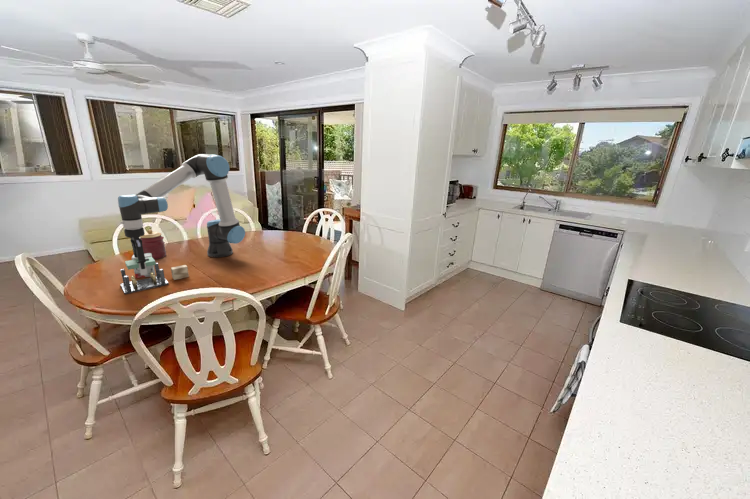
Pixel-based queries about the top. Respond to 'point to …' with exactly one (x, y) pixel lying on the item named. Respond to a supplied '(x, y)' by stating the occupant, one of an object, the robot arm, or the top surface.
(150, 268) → the ink box
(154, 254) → the canister
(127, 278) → the chassis
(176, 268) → the block
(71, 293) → the top surface
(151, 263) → the board
